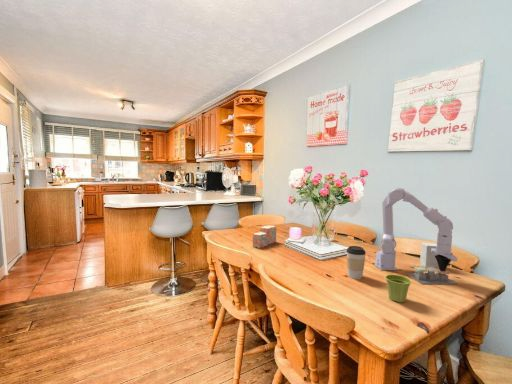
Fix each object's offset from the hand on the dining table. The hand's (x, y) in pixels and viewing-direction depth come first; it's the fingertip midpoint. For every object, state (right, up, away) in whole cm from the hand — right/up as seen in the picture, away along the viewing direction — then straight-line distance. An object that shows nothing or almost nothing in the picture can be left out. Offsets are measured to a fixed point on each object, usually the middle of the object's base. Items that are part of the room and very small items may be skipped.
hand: (442, 270), depth 125 cm
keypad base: (-6, -4, 0) cm, 7 cm away
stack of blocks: (-85, +1, +58) cm, 103 cm away
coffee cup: (-42, -4, +2) cm, 42 cm away
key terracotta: (0, -3, 0) cm, 3 cm away
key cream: (-6, -2, 0) cm, 6 cm away
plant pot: (-34, -6, -20) cm, 40 cm away
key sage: (-11, -2, 0) cm, 11 cm away
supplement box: (+6, -3, +17) cm, 19 cm away
